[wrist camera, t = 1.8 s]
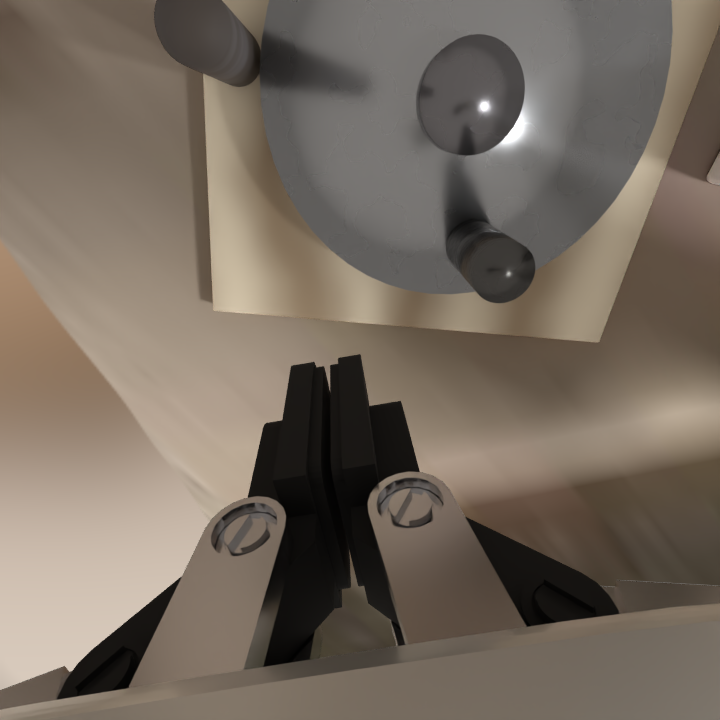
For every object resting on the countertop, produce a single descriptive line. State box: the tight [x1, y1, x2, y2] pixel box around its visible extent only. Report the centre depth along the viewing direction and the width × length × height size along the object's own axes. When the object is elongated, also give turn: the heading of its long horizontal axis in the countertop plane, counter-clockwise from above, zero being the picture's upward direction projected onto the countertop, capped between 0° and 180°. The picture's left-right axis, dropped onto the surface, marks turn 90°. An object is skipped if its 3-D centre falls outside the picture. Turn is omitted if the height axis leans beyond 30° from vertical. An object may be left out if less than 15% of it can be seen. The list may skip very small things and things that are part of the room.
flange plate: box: [259, 0, 673, 303], centre depth 18 cm, size 18×20×6 cm
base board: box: [154, 0, 720, 343], centre depth 19 cm, size 24×24×8 cm
